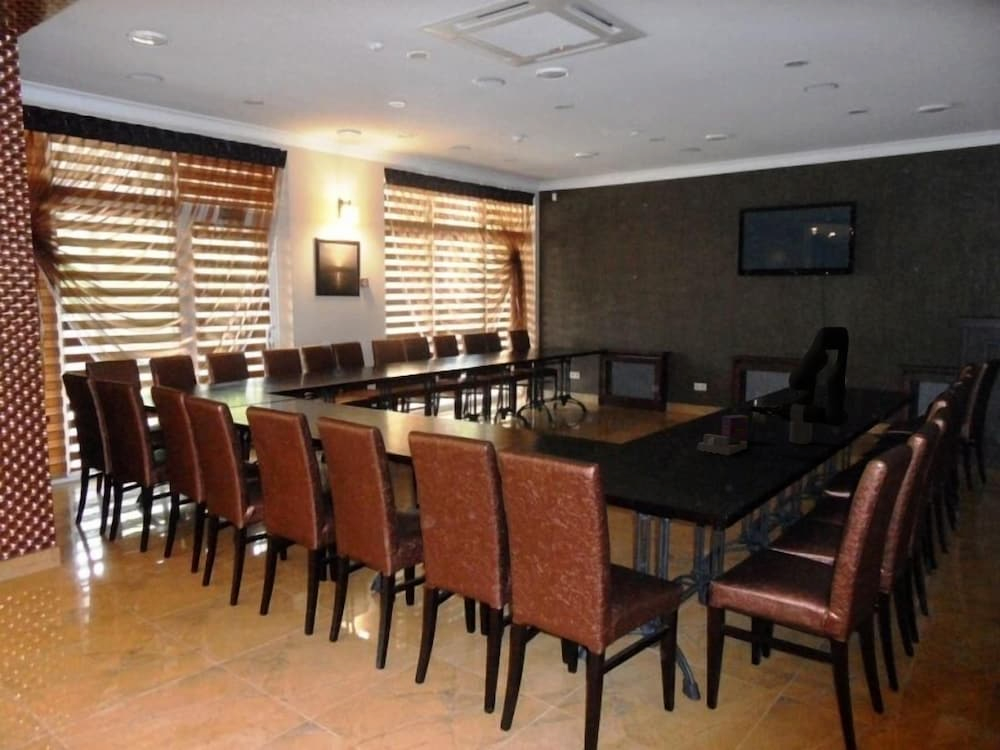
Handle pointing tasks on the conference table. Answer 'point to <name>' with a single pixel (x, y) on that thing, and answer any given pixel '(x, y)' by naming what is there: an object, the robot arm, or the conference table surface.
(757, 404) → the spacer
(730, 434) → the box
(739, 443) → the scale
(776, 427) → the conference table surface
